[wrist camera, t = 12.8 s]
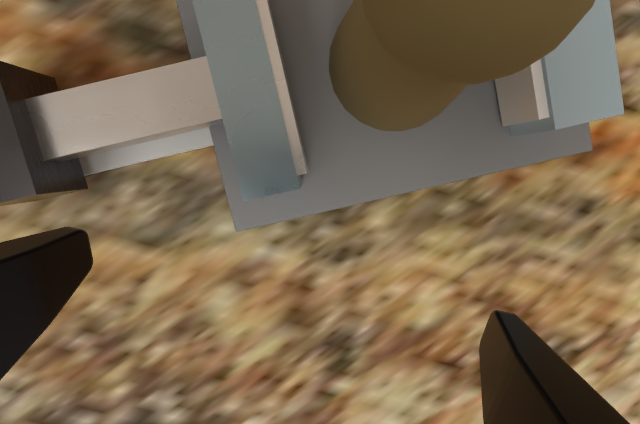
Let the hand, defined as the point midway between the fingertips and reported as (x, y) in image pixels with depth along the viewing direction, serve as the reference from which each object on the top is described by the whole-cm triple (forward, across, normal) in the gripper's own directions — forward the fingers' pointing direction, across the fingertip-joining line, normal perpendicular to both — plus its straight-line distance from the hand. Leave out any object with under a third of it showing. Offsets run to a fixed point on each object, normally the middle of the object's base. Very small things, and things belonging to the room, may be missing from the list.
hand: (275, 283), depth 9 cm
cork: (+13, -2, -3) cm, 13 cm away
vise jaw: (+9, +9, 0) cm, 13 cm away
